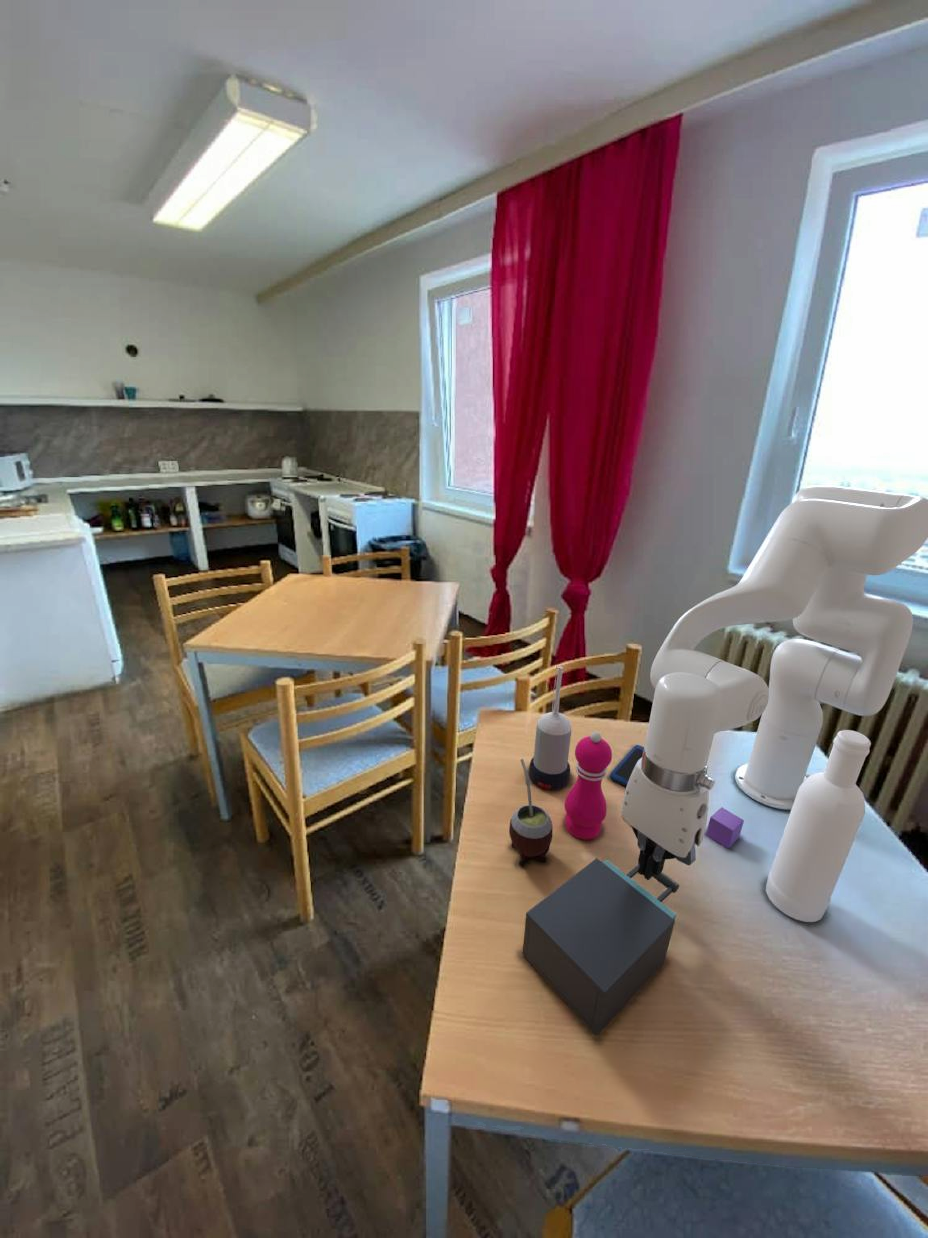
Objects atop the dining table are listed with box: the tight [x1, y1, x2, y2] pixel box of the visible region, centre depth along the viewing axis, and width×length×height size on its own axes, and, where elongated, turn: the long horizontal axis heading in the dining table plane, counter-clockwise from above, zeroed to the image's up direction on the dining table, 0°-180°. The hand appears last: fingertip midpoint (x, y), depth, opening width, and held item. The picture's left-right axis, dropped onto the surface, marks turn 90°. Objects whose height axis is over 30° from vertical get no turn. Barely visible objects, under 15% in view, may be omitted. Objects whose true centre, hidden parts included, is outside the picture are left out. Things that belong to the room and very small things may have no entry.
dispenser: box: [521, 857, 676, 1037], centre depth 69 cm, size 15×13×8 cm
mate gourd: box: [508, 758, 554, 867], centre depth 84 cm, size 8×8×15 cm
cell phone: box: [609, 744, 644, 787], centre depth 107 cm, size 7×14×1 cm, turn 140°
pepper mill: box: [564, 731, 613, 841], centre depth 89 cm, size 7×7×20 cm
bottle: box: [765, 729, 872, 923], centre depth 74 cm, size 8×8×30 cm
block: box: [705, 806, 745, 849], centre depth 90 cm, size 4×4×4 cm
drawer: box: [602, 859, 680, 936], centre depth 72 cm, size 19×11×6 cm, turn 129°
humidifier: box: [528, 665, 572, 791], centre depth 100 cm, size 8×8×25 cm
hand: (648, 871), depth 73 cm, fingers closed
